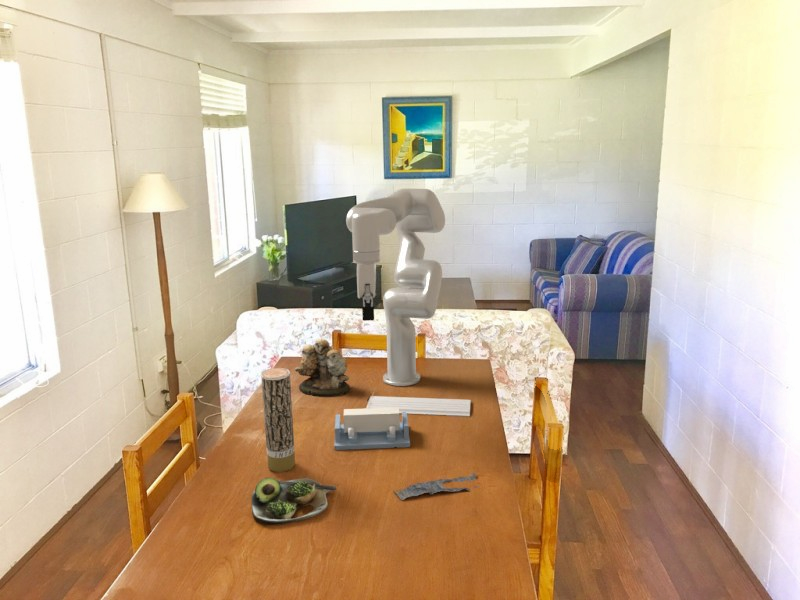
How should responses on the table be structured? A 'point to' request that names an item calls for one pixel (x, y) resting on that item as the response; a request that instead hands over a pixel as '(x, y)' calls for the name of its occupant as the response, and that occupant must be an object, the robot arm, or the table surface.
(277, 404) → the paper tube
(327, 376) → the owl figurine
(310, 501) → the salad plate
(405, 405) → the grooved white panel
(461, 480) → the driftwood
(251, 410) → the table surface
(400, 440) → the rack
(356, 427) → the clay bar
